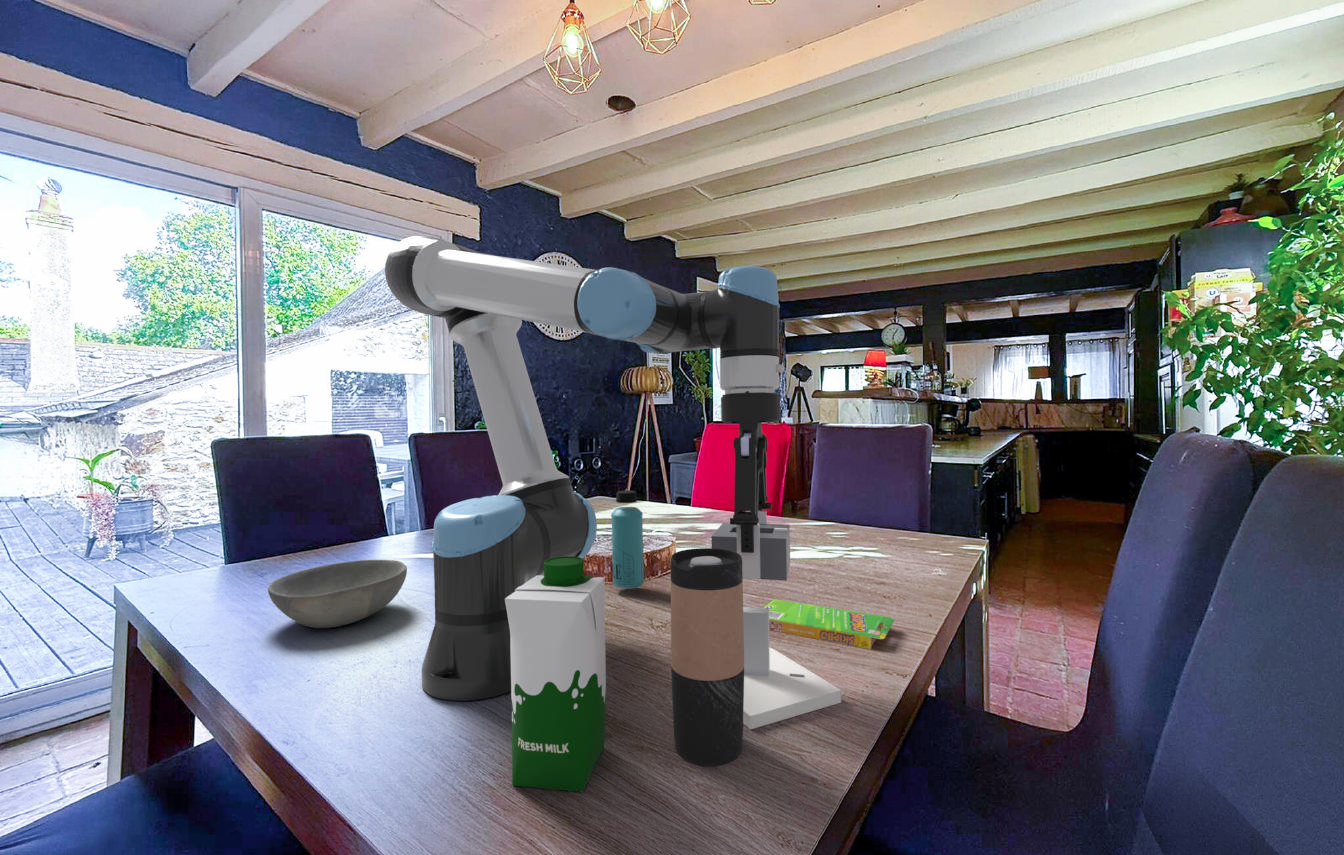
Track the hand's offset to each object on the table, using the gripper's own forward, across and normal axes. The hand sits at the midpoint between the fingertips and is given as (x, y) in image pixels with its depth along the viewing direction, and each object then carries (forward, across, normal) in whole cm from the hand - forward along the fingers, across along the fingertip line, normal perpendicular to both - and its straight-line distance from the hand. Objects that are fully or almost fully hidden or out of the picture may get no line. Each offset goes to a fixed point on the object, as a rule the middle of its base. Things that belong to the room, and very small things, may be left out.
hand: (753, 567), depth 74 cm
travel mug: (+15, -15, +3) cm, 22 cm away
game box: (+16, +22, -9) cm, 28 cm away
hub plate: (+15, 0, 0) cm, 15 cm away
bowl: (+15, +8, +73) cm, 75 cm away
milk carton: (+15, -22, +17) cm, 32 cm away
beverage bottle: (+15, +34, +29) cm, 47 cm away
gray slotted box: (0, 0, 0) cm, 0 cm away
